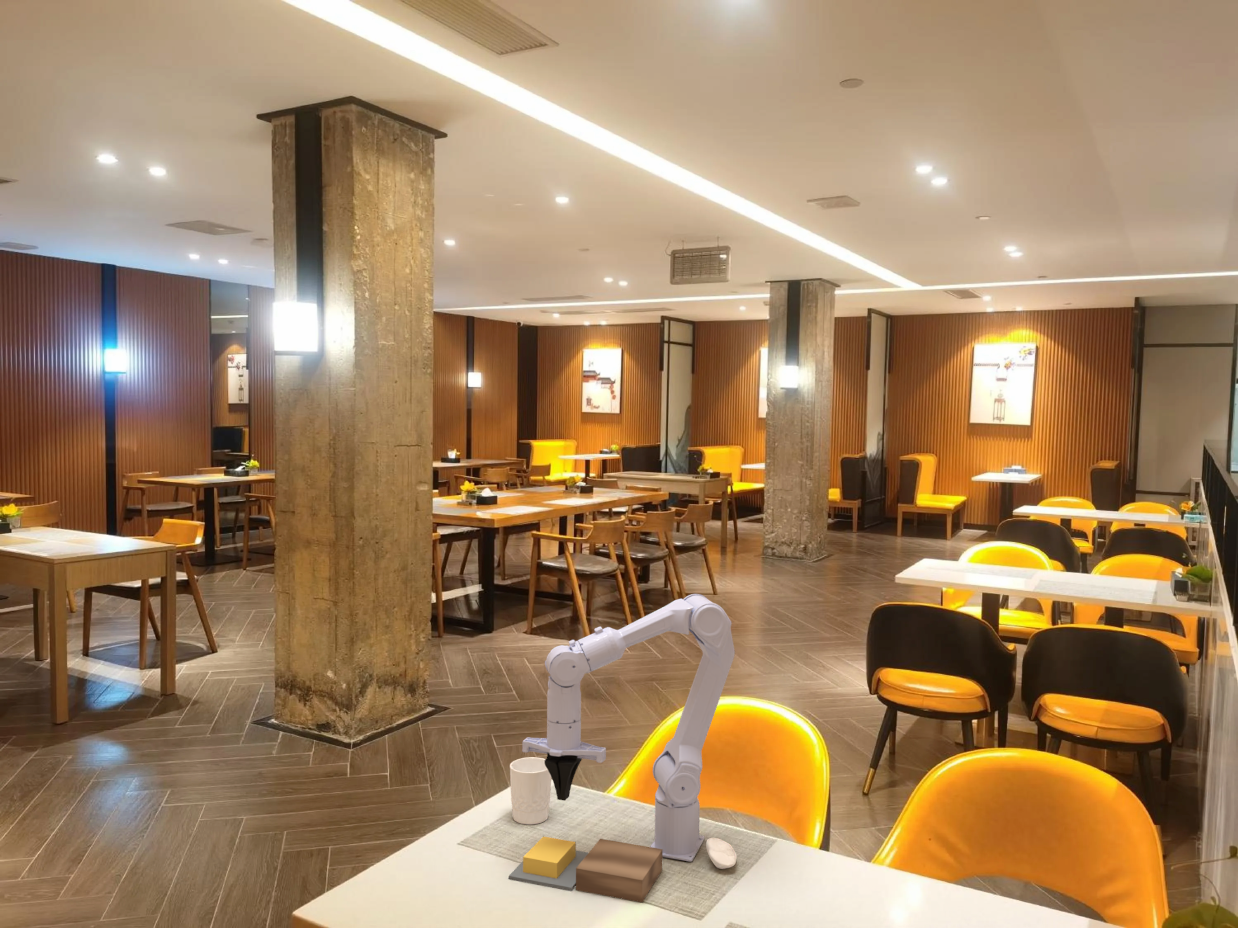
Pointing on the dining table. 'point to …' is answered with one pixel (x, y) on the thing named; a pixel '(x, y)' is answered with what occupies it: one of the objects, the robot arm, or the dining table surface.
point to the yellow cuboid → (549, 857)
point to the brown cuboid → (619, 870)
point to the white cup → (530, 790)
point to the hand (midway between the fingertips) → (563, 797)
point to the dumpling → (721, 853)
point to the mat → (562, 882)
